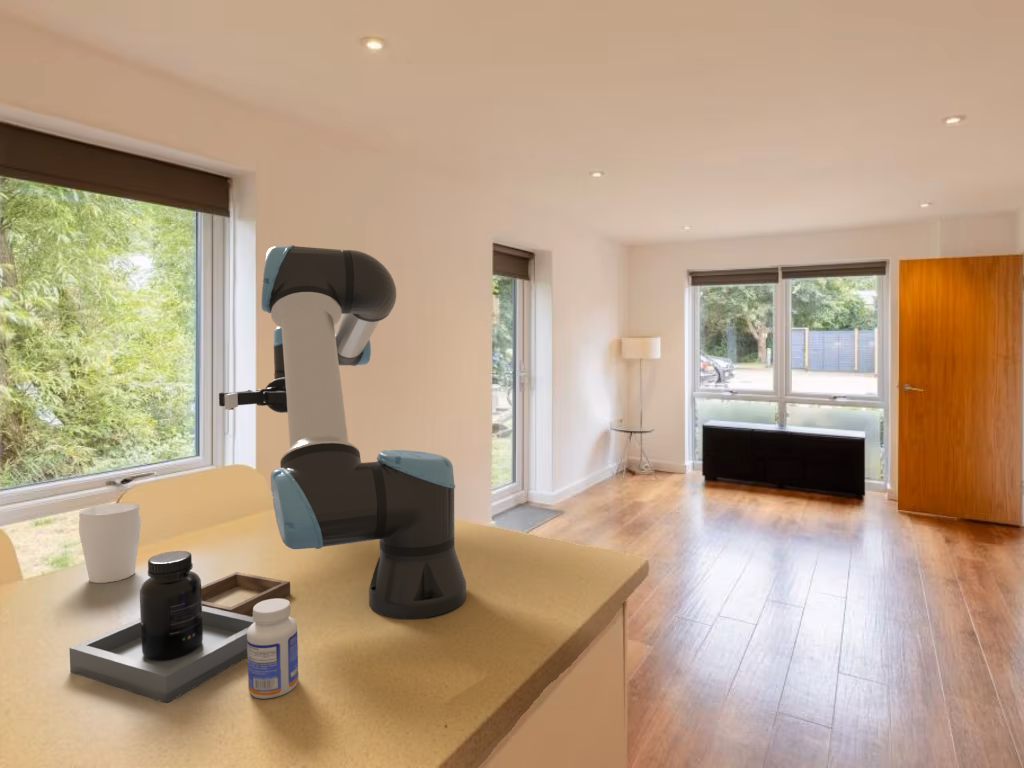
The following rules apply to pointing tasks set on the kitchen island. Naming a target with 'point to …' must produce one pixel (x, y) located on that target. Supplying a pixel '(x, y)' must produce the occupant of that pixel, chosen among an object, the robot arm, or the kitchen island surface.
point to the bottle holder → (268, 585)
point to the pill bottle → (272, 650)
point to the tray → (165, 680)
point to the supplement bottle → (171, 607)
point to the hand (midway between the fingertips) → (265, 401)
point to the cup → (110, 540)
